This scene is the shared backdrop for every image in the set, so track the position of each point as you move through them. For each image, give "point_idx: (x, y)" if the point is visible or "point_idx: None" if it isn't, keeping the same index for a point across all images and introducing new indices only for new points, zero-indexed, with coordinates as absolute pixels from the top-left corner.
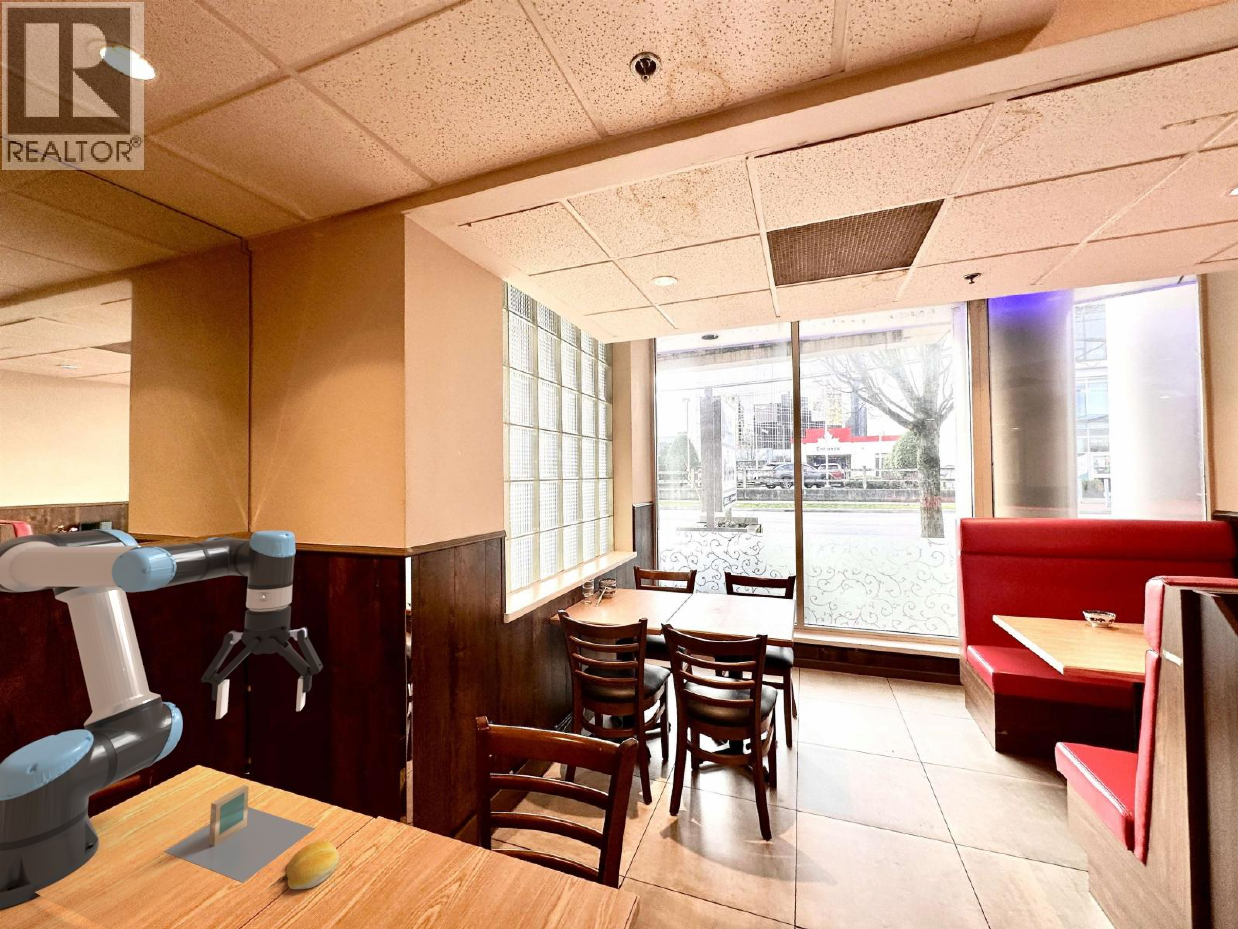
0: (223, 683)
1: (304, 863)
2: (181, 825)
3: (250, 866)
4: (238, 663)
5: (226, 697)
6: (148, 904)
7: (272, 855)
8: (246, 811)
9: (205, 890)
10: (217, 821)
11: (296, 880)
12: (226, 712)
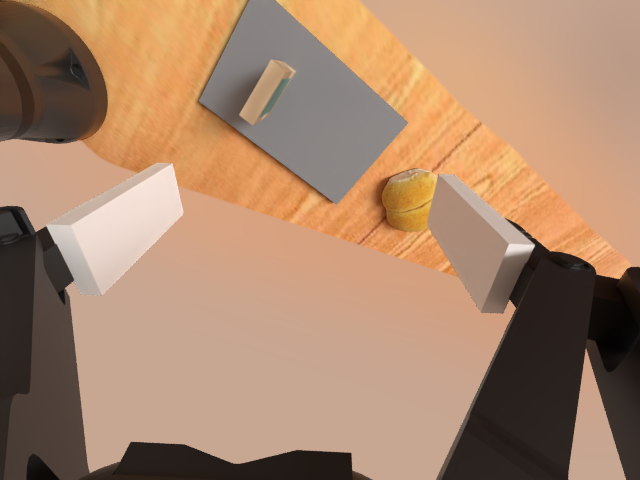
0: (86, 276)
1: (407, 223)
2: (173, 4)
3: (336, 178)
4: (76, 404)
5: (139, 205)
6: (240, 188)
7: (358, 166)
8: (291, 73)
9: (294, 187)
10: (261, 118)
11: (398, 229)
12: (172, 167)
